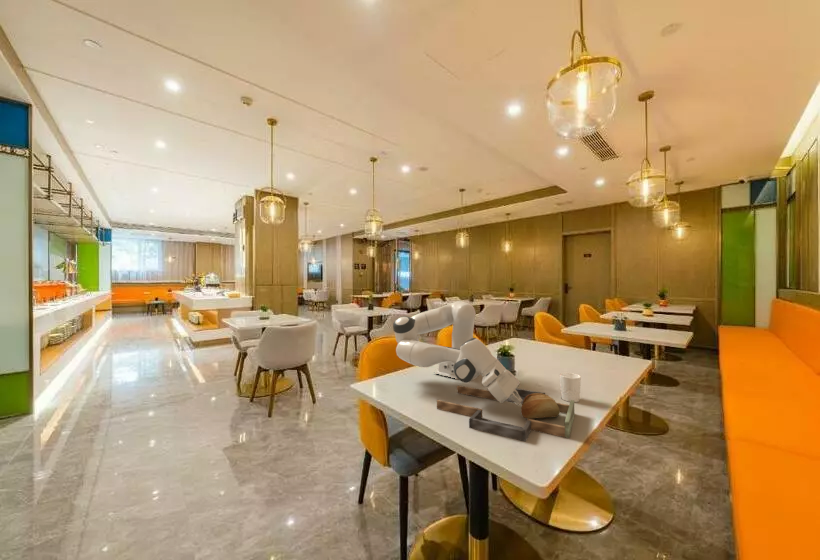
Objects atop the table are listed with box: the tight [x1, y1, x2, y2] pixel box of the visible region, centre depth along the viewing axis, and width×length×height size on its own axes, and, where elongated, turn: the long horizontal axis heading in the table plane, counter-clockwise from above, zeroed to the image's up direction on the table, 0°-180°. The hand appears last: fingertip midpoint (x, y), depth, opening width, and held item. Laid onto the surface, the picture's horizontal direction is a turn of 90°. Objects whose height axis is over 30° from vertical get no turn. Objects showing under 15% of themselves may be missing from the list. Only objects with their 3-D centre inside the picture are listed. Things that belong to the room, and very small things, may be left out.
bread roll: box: [520, 392, 561, 420], centre depth 116 cm, size 10×15×8 cm, turn 106°
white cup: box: [559, 372, 582, 403], centre depth 133 cm, size 8×8×10 cm
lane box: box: [436, 385, 575, 442], centre depth 122 cm, size 47×39×5 cm
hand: (520, 403), depth 118 cm, fingers closed, pressing on bread roll
